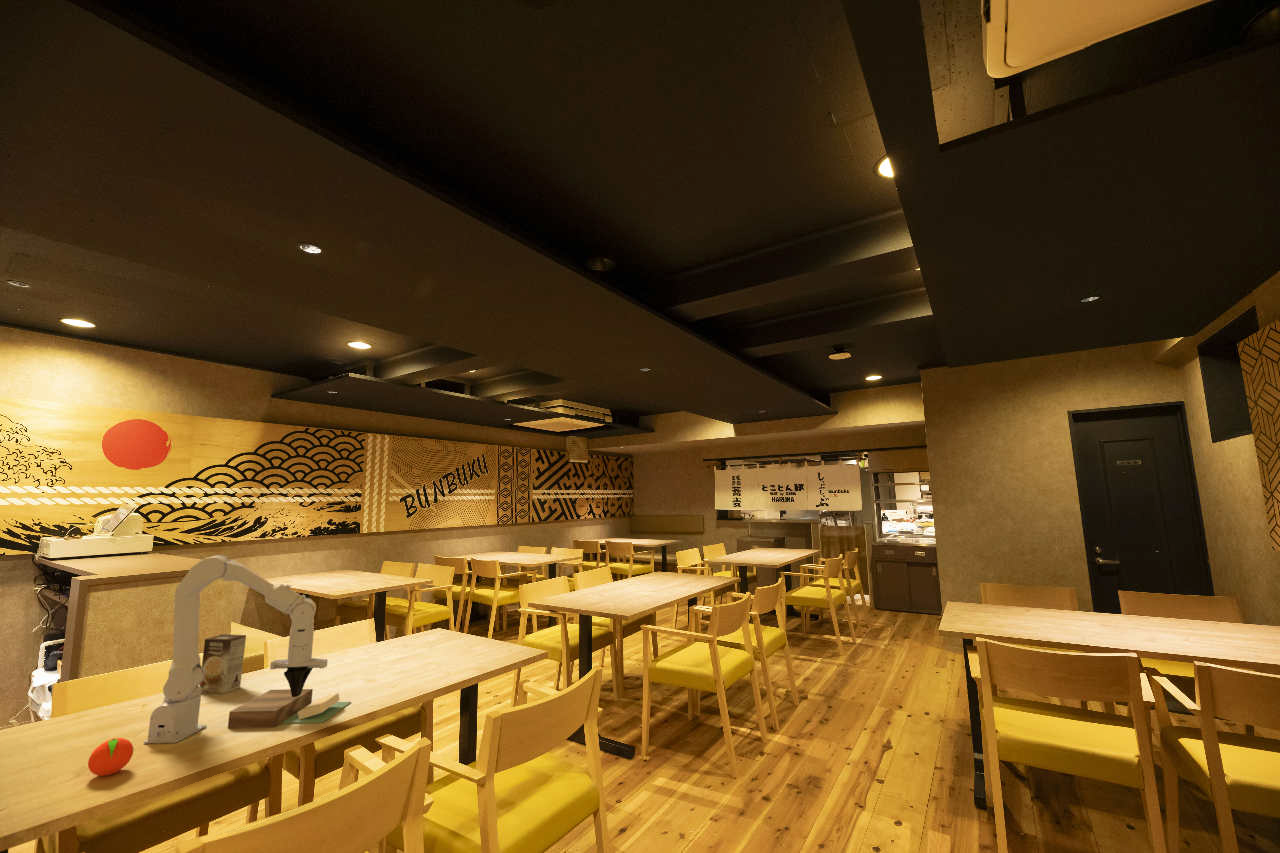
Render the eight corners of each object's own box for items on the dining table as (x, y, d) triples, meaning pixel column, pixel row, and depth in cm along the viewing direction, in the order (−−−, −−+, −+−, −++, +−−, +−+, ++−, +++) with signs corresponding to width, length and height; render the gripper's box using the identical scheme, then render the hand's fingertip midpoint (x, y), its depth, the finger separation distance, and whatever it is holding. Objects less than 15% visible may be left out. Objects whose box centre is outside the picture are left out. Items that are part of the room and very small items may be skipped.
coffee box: (196, 693, 159) (203, 638, 162) (215, 686, 166) (221, 633, 168) (224, 694, 158) (229, 639, 161) (241, 686, 165) (247, 634, 167)
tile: (297, 712, 139) (299, 719, 138) (320, 705, 139) (321, 712, 139) (317, 699, 147) (318, 706, 147) (338, 693, 148) (339, 700, 148)
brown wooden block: (274, 727, 134) (276, 710, 135) (227, 728, 134) (229, 711, 135) (311, 703, 150) (312, 688, 151) (269, 704, 150) (270, 689, 150)
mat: (323, 722, 137) (323, 721, 137) (280, 723, 136) (281, 722, 136) (350, 702, 151) (350, 701, 151) (312, 703, 150) (312, 702, 150)
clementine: (131, 775, 111) (135, 740, 112) (84, 788, 106) (89, 750, 107) (131, 762, 116) (135, 728, 117) (86, 774, 111) (91, 738, 113)
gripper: (334, 640, 149) (331, 689, 147) (283, 641, 149) (279, 690, 147) (320, 646, 142) (316, 699, 140) (267, 647, 142) (262, 700, 140)
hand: (296, 695), depth 143 cm, fingers closed
